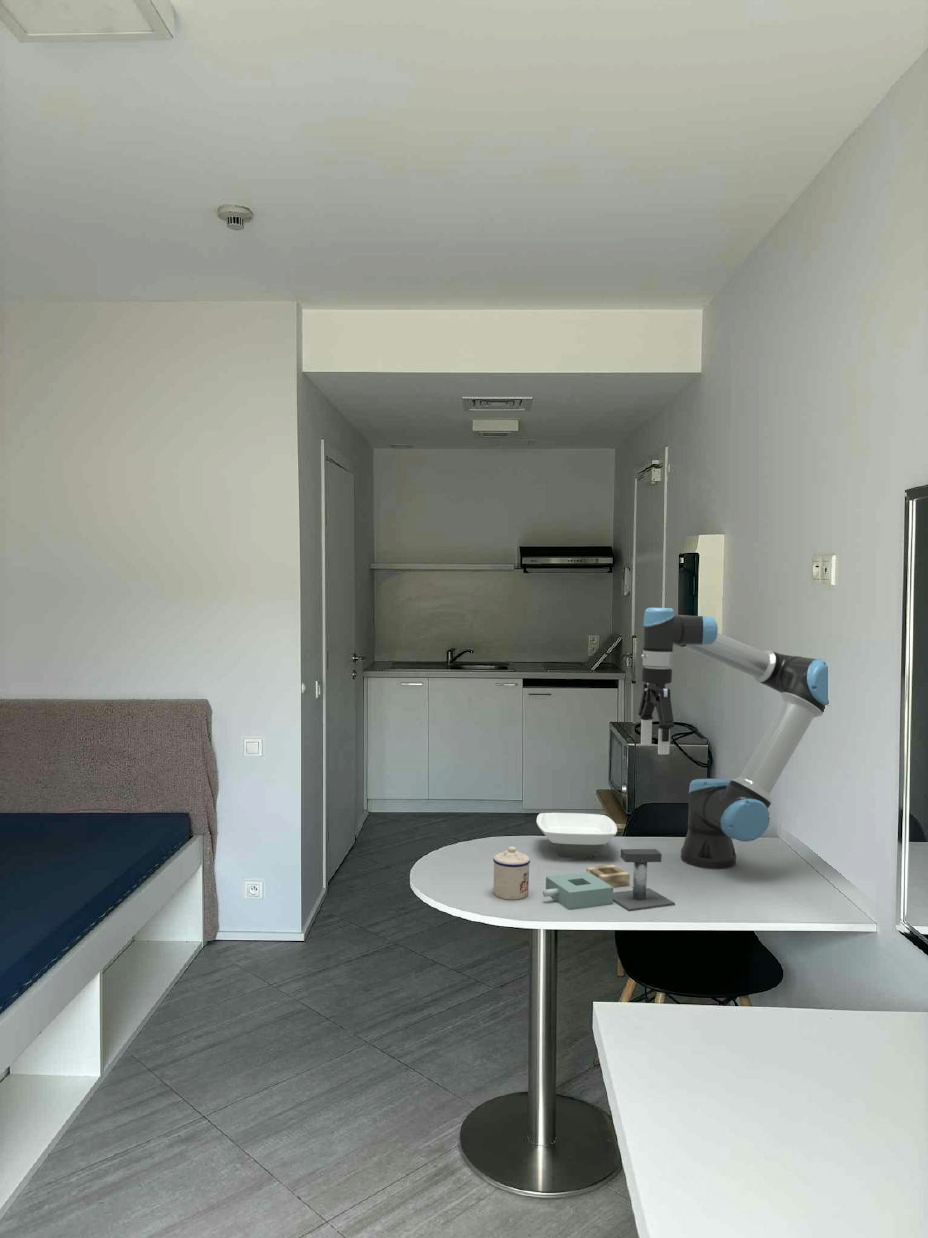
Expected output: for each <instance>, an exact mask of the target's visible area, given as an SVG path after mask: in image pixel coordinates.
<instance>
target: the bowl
mask: <svg viewBox="0 0 928 1238" xmlns="http://www.w3.org/2000/svg"><path fill="white" fill-rule="evenodd" d="M536 825H537V827H538V829H540V831H541V832H542V833H543V834H544V836H545V837H546V838H547V840H548V841H549V842H550V843H551V845H552V847H553V849H554V850H555V852H556V853H557V854H558V855H559V856H560V857H566V858H595V857H596V856H597V854H598V853H599V852H600V851H601V849H602V848H603V847H604V846H605V845H607V843H608V842H609V841H611V839H613V838H614V837H615V836H616V834H617V833H618V828H617V827H618V826H617V823H615V821H614V820H613V819H612V818H610V817H608V816H607V815H606V814H599V813H598V814H597V813H596V814H595V813H581V812H580V813H577V812H573V813H572V812H541V813H539V814H538V815H537V817H536Z"/></svg>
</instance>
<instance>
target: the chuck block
mask: <svg viewBox="0 0 928 1238" xmlns="http://www.w3.org/2000/svg"><path fill="white" fill-rule="evenodd" d="M613 892H614V887H612V886H610V885H609V884H607V883H606V882H604V881H602V880H601V879H599V878H597V877H596V876H594V875H593V874H591V873H589V872H587V871H585V872H576V873H567V874H559V875H550V876H549V875H548V876H545V889H543V890H542V895H543V897H545V898H548V897H551V898H553V900H555V901H557V902H559V903H560V904H561V905H562V906H564V907H565V908H567V909H568V910H574V909H583V908H591V907H597V906H606V905H613V904H614V901H613Z"/></svg>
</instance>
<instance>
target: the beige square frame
mask: <svg viewBox="0 0 928 1238" xmlns="http://www.w3.org/2000/svg"><path fill="white" fill-rule="evenodd" d="M586 872H589V873H591V874H593V875H594V876H596V877H597V878H599V879H601V880H602V881H604V882H606V883H607V884H609V885H610V886H612V887H613V888H619V887H627V886H629V887H630V877H631V876H630V873H629V872H627V871H625V870H623V869H622V868H620V867H618V866H616V865H615V864H607V865H596V866H588V867H586Z"/></svg>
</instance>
